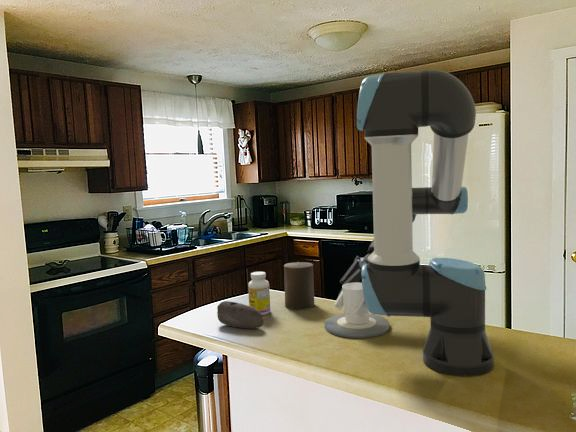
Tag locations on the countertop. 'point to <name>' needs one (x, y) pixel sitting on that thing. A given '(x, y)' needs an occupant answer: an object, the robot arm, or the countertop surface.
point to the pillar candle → (299, 285)
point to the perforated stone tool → (239, 315)
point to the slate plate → (357, 327)
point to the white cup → (353, 303)
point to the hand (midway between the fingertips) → (347, 310)
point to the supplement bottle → (259, 293)
